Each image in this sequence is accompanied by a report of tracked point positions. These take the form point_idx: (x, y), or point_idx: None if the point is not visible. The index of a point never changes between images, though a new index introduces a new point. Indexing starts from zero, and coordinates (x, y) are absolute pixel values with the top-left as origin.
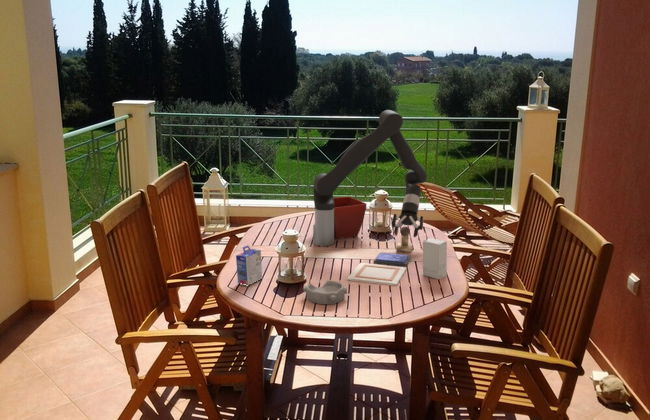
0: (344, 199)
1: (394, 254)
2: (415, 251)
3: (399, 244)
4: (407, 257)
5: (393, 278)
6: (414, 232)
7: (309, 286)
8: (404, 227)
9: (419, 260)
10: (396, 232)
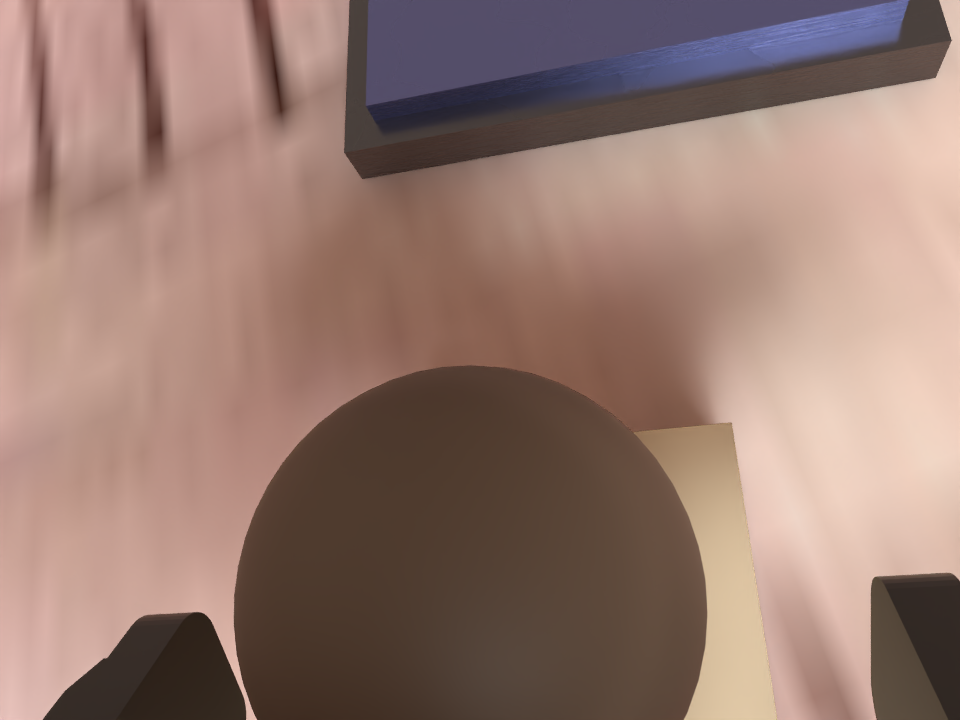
0: None
1: (609, 21)
2: None
3: (711, 611)
4: (371, 27)
5: None
6: (116, 691)
7: None
8: (430, 457)
9: (229, 171)
10: (905, 605)
